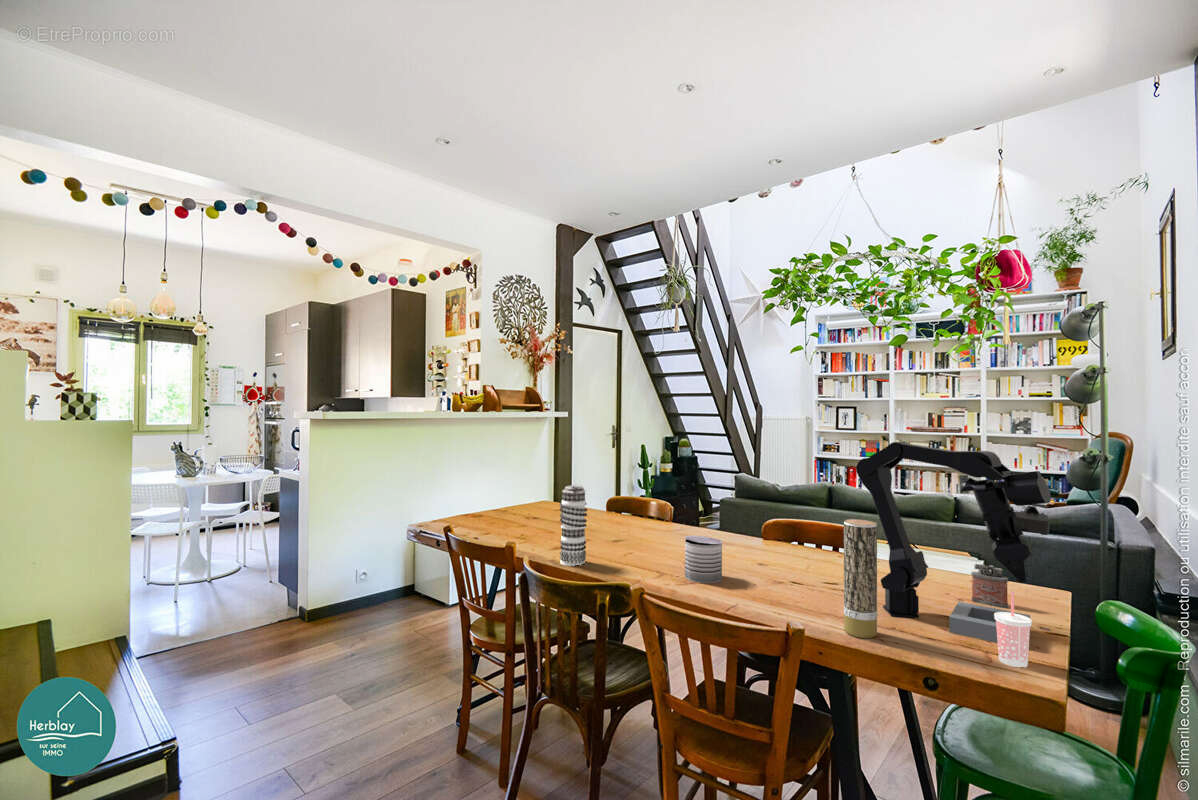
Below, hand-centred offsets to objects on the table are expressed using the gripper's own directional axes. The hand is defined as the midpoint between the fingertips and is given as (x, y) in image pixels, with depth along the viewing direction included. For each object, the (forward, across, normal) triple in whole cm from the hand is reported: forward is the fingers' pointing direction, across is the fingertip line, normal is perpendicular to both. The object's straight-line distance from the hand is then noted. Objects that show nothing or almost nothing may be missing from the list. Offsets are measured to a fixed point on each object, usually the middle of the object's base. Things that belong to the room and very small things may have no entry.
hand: (1020, 573), depth 124 cm
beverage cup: (+10, -18, +6) cm, 21 cm away
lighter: (+17, +22, +9) cm, 30 cm away
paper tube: (+2, -18, +33) cm, 37 cm away
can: (-8, +5, +77) cm, 78 cm away
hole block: (+12, 0, +10) cm, 16 cm away
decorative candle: (-22, -2, +117) cm, 119 cm away
